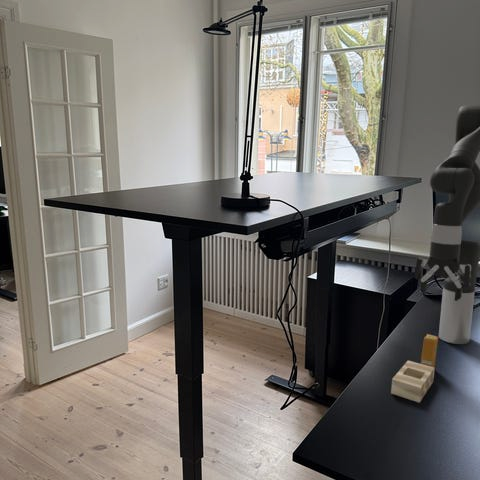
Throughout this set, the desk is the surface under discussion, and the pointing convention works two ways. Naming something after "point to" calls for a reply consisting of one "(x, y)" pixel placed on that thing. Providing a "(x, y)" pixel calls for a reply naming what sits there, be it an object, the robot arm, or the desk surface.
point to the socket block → (412, 381)
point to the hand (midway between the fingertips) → (440, 297)
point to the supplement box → (429, 350)
